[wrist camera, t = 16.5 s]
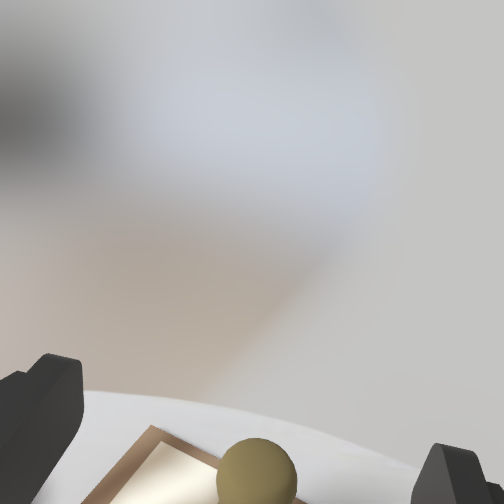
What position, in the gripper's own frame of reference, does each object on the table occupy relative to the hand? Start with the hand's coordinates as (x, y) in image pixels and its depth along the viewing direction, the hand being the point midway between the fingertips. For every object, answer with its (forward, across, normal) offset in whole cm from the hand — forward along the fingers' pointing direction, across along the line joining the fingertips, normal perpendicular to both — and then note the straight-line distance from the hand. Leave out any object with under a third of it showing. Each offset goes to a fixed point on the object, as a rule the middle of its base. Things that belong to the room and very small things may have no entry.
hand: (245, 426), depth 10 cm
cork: (+12, -1, +27) cm, 30 cm away
